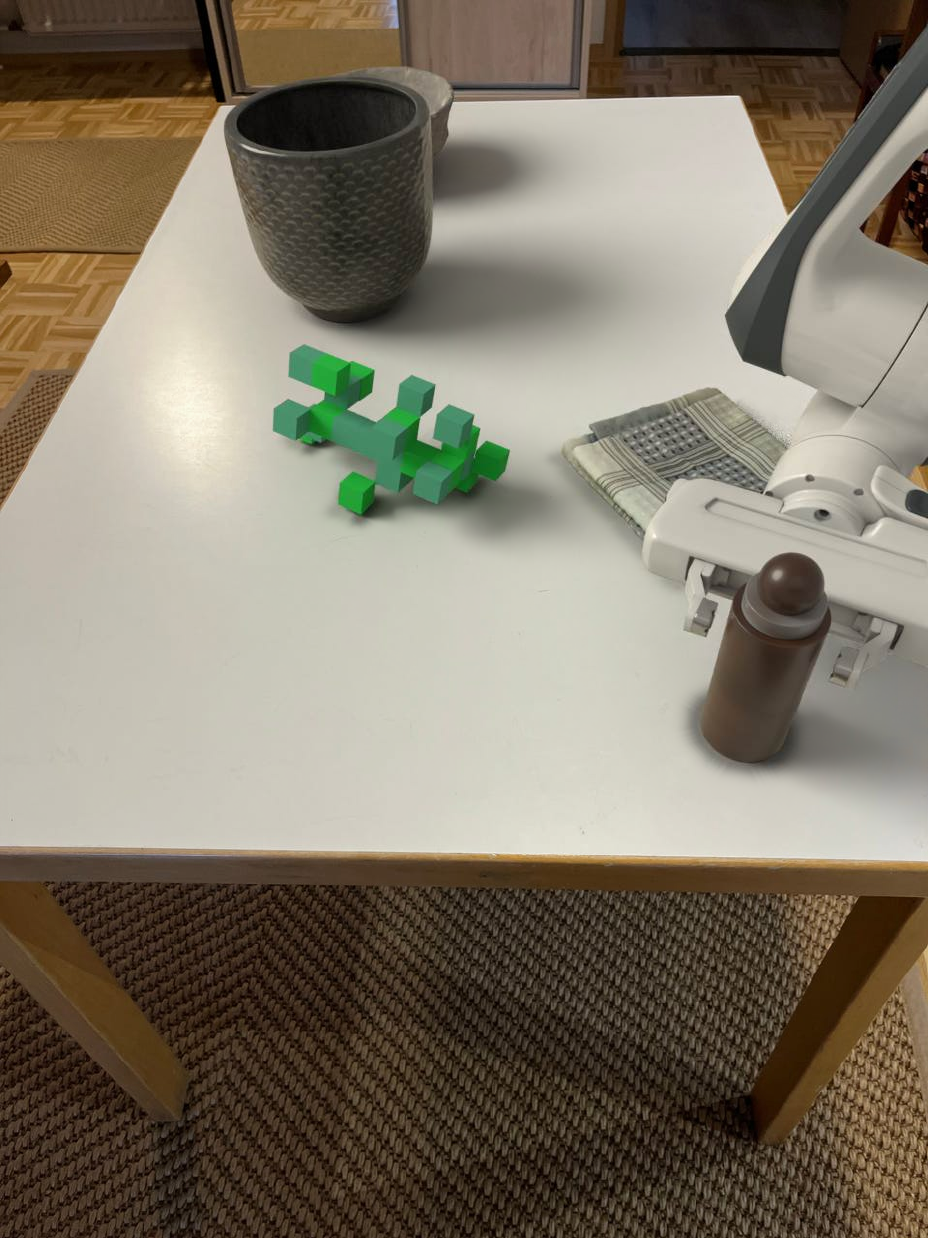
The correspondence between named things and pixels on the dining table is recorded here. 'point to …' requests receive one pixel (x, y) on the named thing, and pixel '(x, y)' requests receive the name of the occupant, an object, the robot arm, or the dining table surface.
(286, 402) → the building blocks
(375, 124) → the planter
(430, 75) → the bowl
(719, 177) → the dining table surface
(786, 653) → the pepper mill
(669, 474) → the dish towel
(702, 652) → the dining table surface
